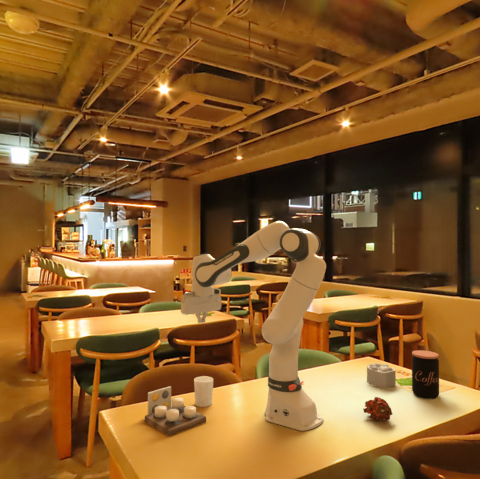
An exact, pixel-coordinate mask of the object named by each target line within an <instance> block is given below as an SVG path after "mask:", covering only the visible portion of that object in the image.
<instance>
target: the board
mask: <svg viewBox="0 0 480 479" xmlns="http://www.w3.org/2000/svg"><path fill="white" fill-rule="evenodd" d="M185 407H186V406H185V405H184V407H183V408H179V409H178V410H179V419H178V420H176V421H168V420H166V416H165V417H160V418H159V417H155V413H152V414H149V415H148V414H146V415H144V422H145V423H146V424H148V425H150V426H151V427H153V428H155V429H156V430H158V431H160V432H161V433H163V434H164V435H166V436H168V437H172V436H173V435H177V434H179V433H182V432H184V431H186V430H190V429H191V428H192V429H193V428H195V427H197V426H200V425H202V424H204V423H207V416H205V415H204V414H202V413H200V412H197V411H196V416H195V417H192V418H186V417H184V408H185ZM169 409H175V408H173V407H172V406H171V407H170V408H167V410H169Z"/></svg>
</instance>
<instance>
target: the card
mask: <svg viewBox="0 0 480 479" xmlns="http://www.w3.org/2000/svg"><path fill="white" fill-rule="evenodd" d="M157 406H166V407H167V408H170V407H172V386H170V385H169V386H167V387H163V388H158V389H155V390H153V391H152V390H151V391H149V392H147V415H149V414H152V413H155V407H157Z"/></svg>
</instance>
